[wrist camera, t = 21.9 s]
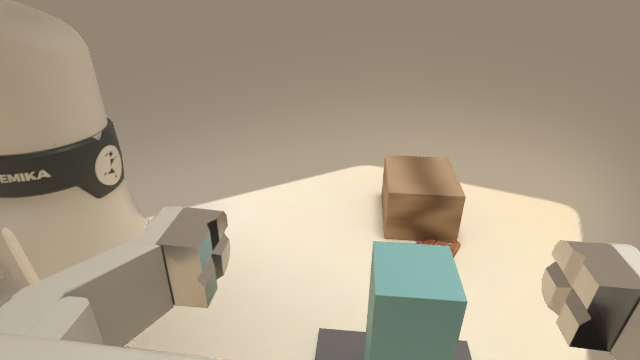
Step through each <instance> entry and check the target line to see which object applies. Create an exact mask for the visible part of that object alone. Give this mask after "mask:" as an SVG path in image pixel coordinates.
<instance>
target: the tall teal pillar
mask: <svg viewBox="0 0 640 360" xmlns="http://www.w3.org/2000/svg"><path fill="white" fill-rule="evenodd" d="M466 305H467V299H466V296H465V293H464V290H463V286H462V283H461V280H460V277H459V274H458V271H457V267H456V264H455V261H454V258H453V255H452V252H451V249H450V246H441V245H425V244H409V243H393V242H377V241H373V252H372V265H371V277H370V290H369V302H368V315H367V327H366V340H365V352H364V360H454V356H455V351H456V347H457V343H458V339H459V335H460V330H461V326H462V322H463V318H464V314H465V309H466Z"/></svg>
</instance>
